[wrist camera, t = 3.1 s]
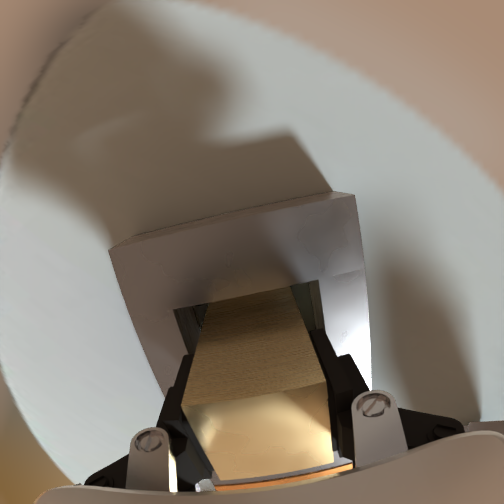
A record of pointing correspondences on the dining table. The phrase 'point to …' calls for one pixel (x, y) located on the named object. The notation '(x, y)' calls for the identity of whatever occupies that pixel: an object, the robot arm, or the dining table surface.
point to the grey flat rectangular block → (249, 285)
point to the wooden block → (258, 389)
